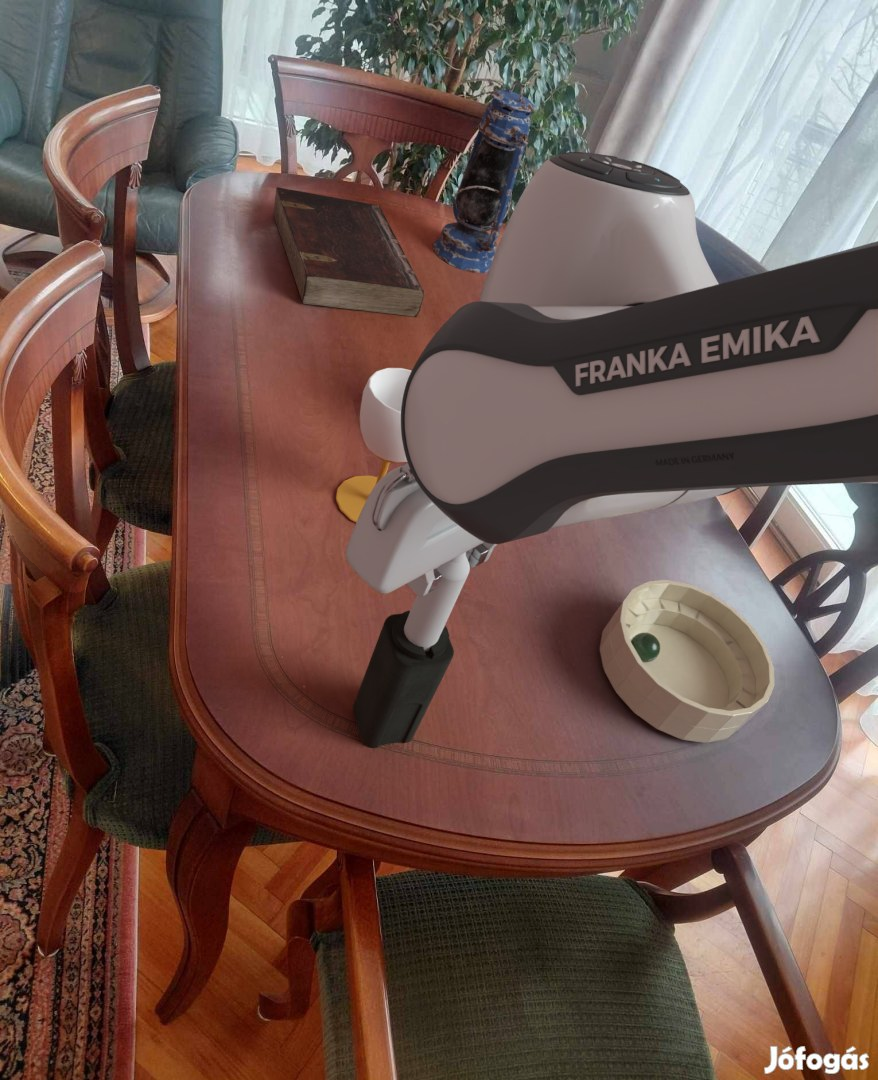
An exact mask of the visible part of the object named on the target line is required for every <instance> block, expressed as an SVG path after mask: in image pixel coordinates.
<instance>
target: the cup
mask: <svg viewBox="0 0 878 1080" xmlns="http://www.w3.org/2000/svg"><path fill="white" fill-rule="evenodd" d="M411 371H412V369H407V368H403V367H386V368H383V369H379V370H376V371H375V372H374V373H373V374H371V376H370V377H369V378H368V379H367V382H366V384H365V387H364V388H363V391H362V395H361V402H360V411H359V427H360V432H361V435H362V436H361V437H362V439H363V442H364V444H365V446H366V448H367V449H368V450H369V451H370V452H371V453H372V454H373V455H374V456H376V458H378V459H379V460H381V465H380V468H379V472H378V475H377V476H374V475H370V474H369V475H355V476H352V477H350V478H347V479H345V480H343V481H342V482H341V484H340V485H339V486H338V487H337V489H336V493H335V494H336V495H335V502H336V504H337V507H338V508H339V511H340V512H341V513H342V514H343V515H345V517H346V518H347V519H349V520H350V521H351V522H353V523H355V524H356V522H357V520H358V518H359V515H360V513H361V511H362V509H363V507H364V505H365V502H366V500H367V498H368V496H369V495H370V493H371V491H372V490H373V488H374V487H375V485H376V484H377V483H378V482H379V480H380V479H381V478H382V477H383V476H385V475H386V474H387V473H388V470H389V467H390V464H400V463H407V459H406V455H405V452H404V447H403V442H402V434H401V406H402V399H403V394H404V390H405V386H406V383H407V381H408V378H409V376H410V373H411Z"/></svg>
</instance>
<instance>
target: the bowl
mask: <svg viewBox="0 0 878 1080" xmlns="http://www.w3.org/2000/svg"><path fill="white" fill-rule="evenodd" d="M644 632H645V633H650V634H652V635H654V636H655V637H656V638H657V639H658V641H659V643H660V653H659V655H658V656H657V658H656V659H655V660H653V661H651V662H642V661H641V659H640V657H639V655H638V654H637V652H636V650H635V648H634V647H633V645H632V643H631V640H632V638H633V637H634V636H635V635H637V634H639V633H644ZM599 653H600V659H601V663H602V668H603V671H604V673H605V675H606V677H607V679H608V680H609V683H610V684H611V686H612V688H613V690H614V691H615V693H616V694H617V696H619V698H620V699H621V700H622V701H623V702H624V703H625V704H626V706H628V708H629V709H630V710H631V711H632V712H633V713H634V714H635V715H636V716H638V717H640V718H641V719H642V720H644V721H645V722H646V723H647V724H649V725H650V726H652V727H653V728H654V729H656V730H658V731H660V732H663V733H665V734H667V735H670V736H672V737H675V738H677V739H680V740H682V741H690V742H695V743H703V744H708V743H714V742H718V741H724V740H727V739H728V738H730V737H731V736H733V734H735V733H736V732H738V731H739V730H740V729H742V727H744V725H745V724H747V722H749V720H751V719H752V718H753V717H754V716H755V715H756V714H757V713H758V712H759V711H760V710H761V709H762V708H763V707H764V706H765V705H766V704H767V703H768V702H769V700H770V697H771V696H772V693H773V691H774V688H775V667H774V663H773V661H772V658H771V655H770V653H769V650H768V647H767V646H766V643H765V642H764V641H763V639H762V638H761V637H760V635H759V634H758V632H757V631H756V629H755V628H754V627H753V625H752V624H751V623H750V622H749V621H748V620H747V619H745V617H743V616H742V615H741V614H740V613H739V612H738V611H737V610H736V608H734V607H733V606H731V605H729V604H728V603H727V602H726V601H725V600H722V599H721V598H719V597H718V596H716V595H715V594H713V593H711V592H709V591H707V590H705V589H702V588H700V587H697V586H695V585H692V584H690V583H686V582H681V581H675V580H671V579H660V580H648V581H645V582H643V583H641V584H640V585H637V586H635V587H634V588H632V589H631V590H630V592H629V593H628V594H627V595H626V596H625V597H624V599H623V600H622V602H621V603H620V605H619V606H618V607H617V609H616V611H615V613H614V614H613V615H612V617H610V619H609V621H608V622H607V624H606V626H605V627H604V628H603V630H602V631H601V638H600V644H599Z"/></svg>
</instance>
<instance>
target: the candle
mask: <svg viewBox="0 0 878 1080" xmlns="http://www.w3.org/2000/svg"><path fill="white" fill-rule="evenodd" d="M436 569H437V570H438V571H439V572H440V573H441V574H442V575H443V576H442V578H441V580H440V582H439V583H438V587H437V589H435V590H433V591H432V592H430V593H428V594H426V595H424V596H423V597H419V596H418V595H417V594H416V596H415V598H414V601H413V604H412V606H411V608H410V610H406V611H404V612H402V613H394V614H390V615H388V616H387V617H386V618H385V620H384V622H383V625H382V627H381V629H380V633H379V635H378V638H377V640H376V644H375V645H374V648H373V652H372V655H371V656H370V659H369V662H368V665H367V668H366V670H365V673H364V675H363V677H362V681H361V684H360V686H359V688H358V691H357V694H356V697H355V700H354V702H353V705H352V713H353V716H354V720H355V723H356V726H357V727H356V728H357V731H358V734H359V737H360V740H361V742H362V743H363V744H364V746H365V745H366V747H369V748H372V749H378V748H379V747H380V746H383V745H391V744H397V743H403V744H406V743H407V744H408V743H409V742H412V740H413V739H414V736H415V734H416V733H417V730H418V729H419V727H420V724H421V723H422V721H423V718H424V717H425V715H426V713H427V711H428V708H429V706H430V704H431V702H432V700H433V698H434V697H435V695H436V692H437V690H438V689H439V687H440V685H441V682H442V681H443V679H444V676H445V675H446V672H447V670H448V668H449V666H450V664H451V662H452V660H453V658H454V655H455V649H454V647H453V645H452V642H451V639H450V633H449V630H448V627H447V625H446V624H447V621H448V620H449V617H450V615H451V613H452V611H453V609H454V607H455V604H456V603H457V600H458V597H459V596H460V593H461V591H462V589H463V587H464V585H465V583H466V580H467V579H468V576H469V574H470V570H471V567H470V565H469V562H468V559H467V557H466V552H465V553H463V554H461V555H459V556H457V557H455V558H454V559H452V560H450V561H448V562H446V563H444V564H442V565H440V566H439V567H438V568H436Z"/></svg>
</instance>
